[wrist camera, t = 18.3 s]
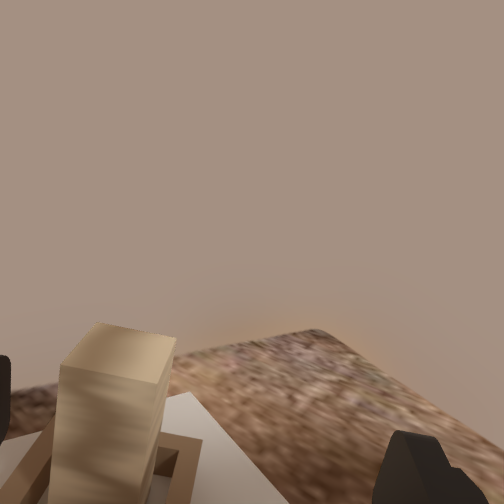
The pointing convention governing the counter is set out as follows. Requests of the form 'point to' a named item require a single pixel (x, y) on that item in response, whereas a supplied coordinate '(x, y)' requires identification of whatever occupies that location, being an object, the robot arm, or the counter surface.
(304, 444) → the counter surface
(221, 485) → the socket board
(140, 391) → the maple peg
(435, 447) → the robot arm
